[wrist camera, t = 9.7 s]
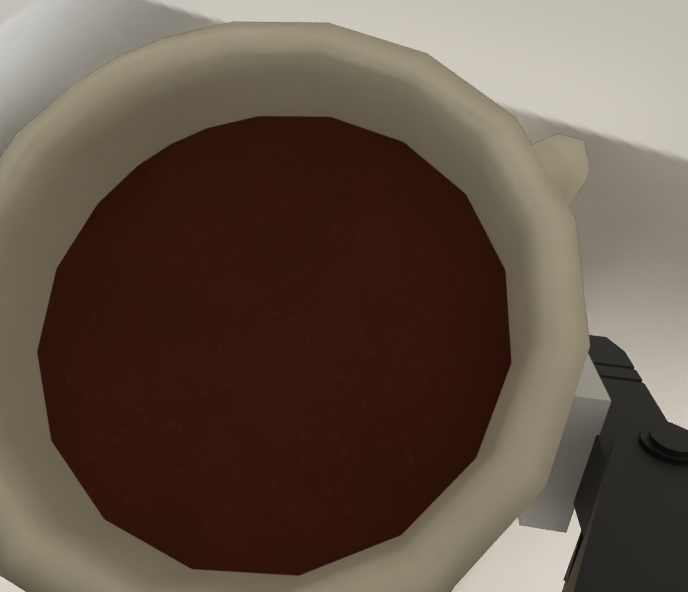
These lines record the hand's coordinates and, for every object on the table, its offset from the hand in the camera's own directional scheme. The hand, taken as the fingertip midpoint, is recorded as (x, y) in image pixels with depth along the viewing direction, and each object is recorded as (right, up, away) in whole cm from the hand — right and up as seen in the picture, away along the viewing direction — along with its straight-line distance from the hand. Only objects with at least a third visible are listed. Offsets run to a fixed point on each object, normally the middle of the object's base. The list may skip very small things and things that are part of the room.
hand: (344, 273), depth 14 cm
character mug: (0, -5, +4) cm, 6 cm away
